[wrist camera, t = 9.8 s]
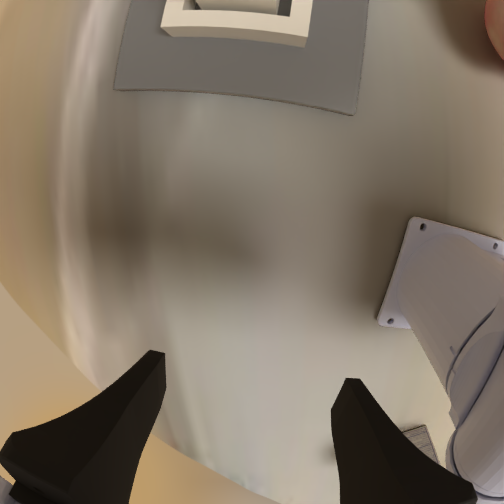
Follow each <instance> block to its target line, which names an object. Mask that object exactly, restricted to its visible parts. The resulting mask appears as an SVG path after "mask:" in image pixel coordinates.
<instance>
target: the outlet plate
mask: <svg viewBox="0 0 504 504" xmlns="http://www.w3.org/2000/svg"><path fill="white" fill-rule="evenodd" d="M368 3H369V0H280V3H279V8H278V14H277V15H272V14H263V13H253V12H240V11H222V10H201V8H200V7H199V5H198V3H197V2H196V0H132V1H131V5H130V9H129V13H128V17H127V21H126V25H125V29H124V34H123V38H122V43H121V48H120V53H119V58H118V64H117V70H116V76H115V82H114V90H119V91H180V92H199V93H212V94H223V95H233V96H242V97H251V98H258V99H266V100H272V101H279V102H285V103H291V104H297V105H302V106H307V107H312V108H317V109H322V110H327V111H332V112H336V113H340V114H345V115H349V116H353V115H355V113H356V106H357V100H358V93H359V86H360V79H361V71H362V63H363V55H364V46H365V37H366V27H367V15H368Z"/></svg>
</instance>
